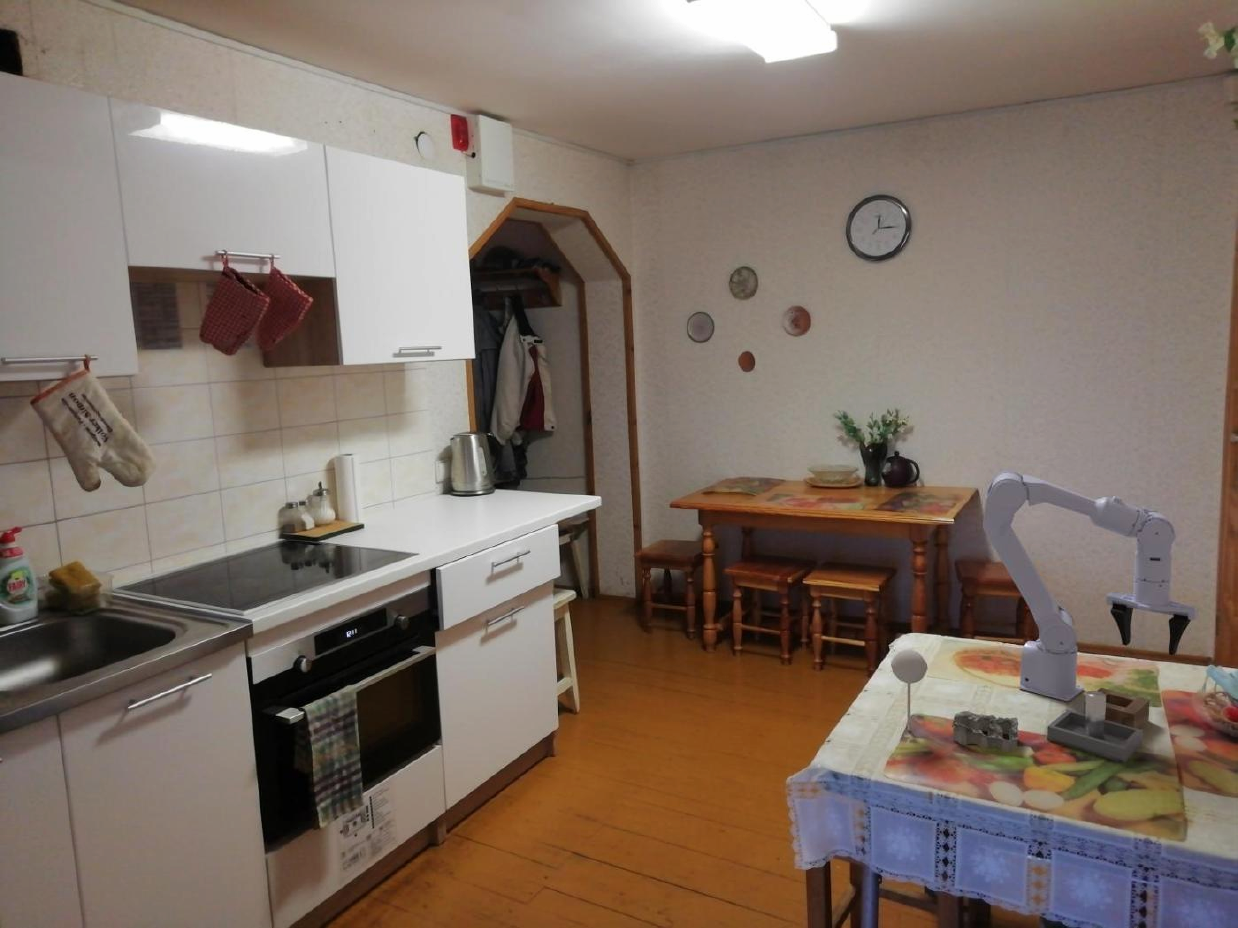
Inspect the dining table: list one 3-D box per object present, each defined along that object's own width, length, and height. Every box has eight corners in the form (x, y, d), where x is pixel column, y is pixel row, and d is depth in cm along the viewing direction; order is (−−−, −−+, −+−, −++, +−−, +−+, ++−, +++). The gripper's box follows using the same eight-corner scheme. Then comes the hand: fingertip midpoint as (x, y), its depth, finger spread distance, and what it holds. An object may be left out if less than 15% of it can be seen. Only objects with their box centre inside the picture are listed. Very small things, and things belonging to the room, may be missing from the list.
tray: (1046, 739, 148) (1047, 726, 148) (1067, 722, 154) (1068, 709, 154) (1123, 763, 139) (1124, 748, 139) (1142, 743, 145) (1142, 730, 145)
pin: (1081, 738, 147) (1083, 694, 146) (1088, 732, 149) (1089, 689, 148) (1100, 744, 144) (1102, 699, 143) (1107, 738, 146) (1108, 694, 145)
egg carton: (949, 744, 149) (949, 722, 148) (955, 726, 155) (955, 704, 154) (1016, 755, 144) (1017, 732, 143) (1019, 736, 150) (1020, 714, 149)
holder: (1083, 722, 154) (1084, 701, 153) (1100, 707, 159) (1101, 687, 158) (1133, 736, 148) (1134, 714, 147) (1148, 720, 153) (1149, 699, 152)
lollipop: (928, 725, 155) (929, 646, 153) (925, 740, 150) (926, 658, 148) (892, 720, 158) (893, 642, 155) (888, 734, 152) (888, 654, 150)
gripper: (1101, 575, 160) (1098, 645, 162) (1191, 590, 149) (1187, 664, 151) (1114, 567, 165) (1112, 635, 167) (1203, 581, 154) (1199, 653, 156)
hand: (1149, 648), depth 159 cm, fingers open, 7 cm apart
